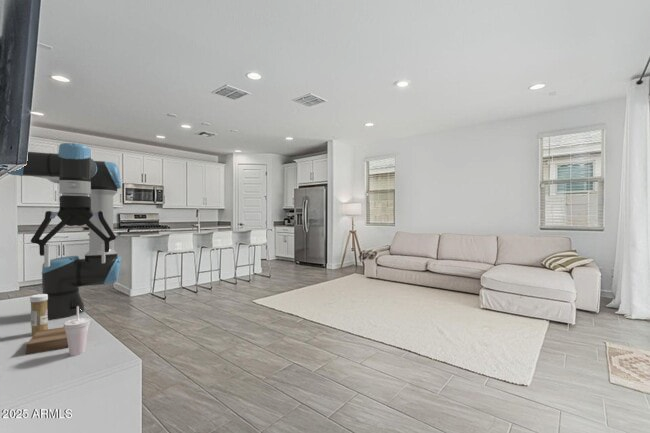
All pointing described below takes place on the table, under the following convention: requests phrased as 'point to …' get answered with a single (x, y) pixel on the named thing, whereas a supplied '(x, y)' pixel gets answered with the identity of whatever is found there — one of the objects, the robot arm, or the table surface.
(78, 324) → the smoothie
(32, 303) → the sprinkles bottle
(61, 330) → the walnut base
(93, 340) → the table surface
